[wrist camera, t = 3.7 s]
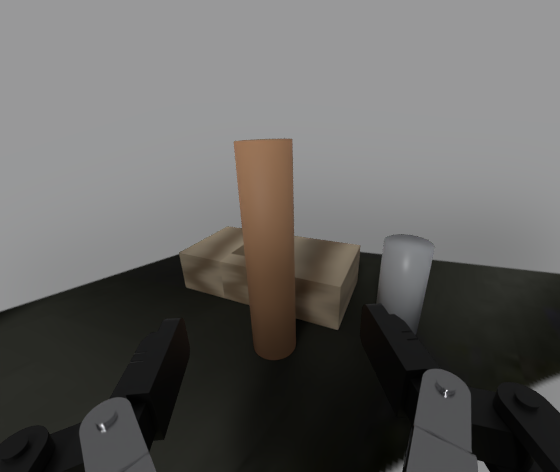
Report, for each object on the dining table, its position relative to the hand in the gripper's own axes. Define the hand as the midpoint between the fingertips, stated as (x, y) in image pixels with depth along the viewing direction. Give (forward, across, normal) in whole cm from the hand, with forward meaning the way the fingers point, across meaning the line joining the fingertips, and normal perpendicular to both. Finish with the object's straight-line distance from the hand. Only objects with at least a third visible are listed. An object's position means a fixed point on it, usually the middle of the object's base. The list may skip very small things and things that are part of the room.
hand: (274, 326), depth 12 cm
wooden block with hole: (+21, +1, +10) cm, 23 cm away
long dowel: (+10, 0, +10) cm, 14 cm away
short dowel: (+11, -12, +10) cm, 19 cm away
